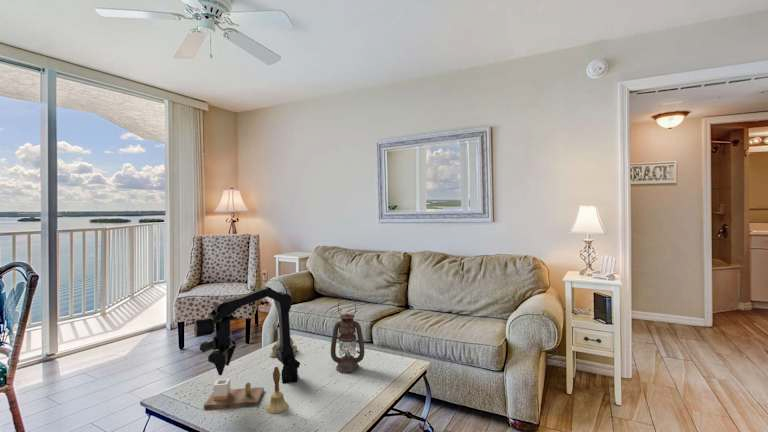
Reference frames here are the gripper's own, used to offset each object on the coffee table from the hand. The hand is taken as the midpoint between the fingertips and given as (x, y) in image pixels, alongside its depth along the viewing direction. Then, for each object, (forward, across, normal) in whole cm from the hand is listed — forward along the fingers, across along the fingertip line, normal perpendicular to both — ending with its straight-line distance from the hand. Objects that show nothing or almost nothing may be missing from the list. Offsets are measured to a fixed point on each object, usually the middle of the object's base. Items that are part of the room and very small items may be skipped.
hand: (223, 370), depth 149 cm
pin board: (+12, +1, +4) cm, 13 cm away
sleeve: (+10, +1, -1) cm, 10 cm away
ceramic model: (+12, -46, +17) cm, 51 cm away
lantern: (+12, -22, +50) cm, 56 cm away
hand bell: (+12, +10, +22) cm, 27 cm away
